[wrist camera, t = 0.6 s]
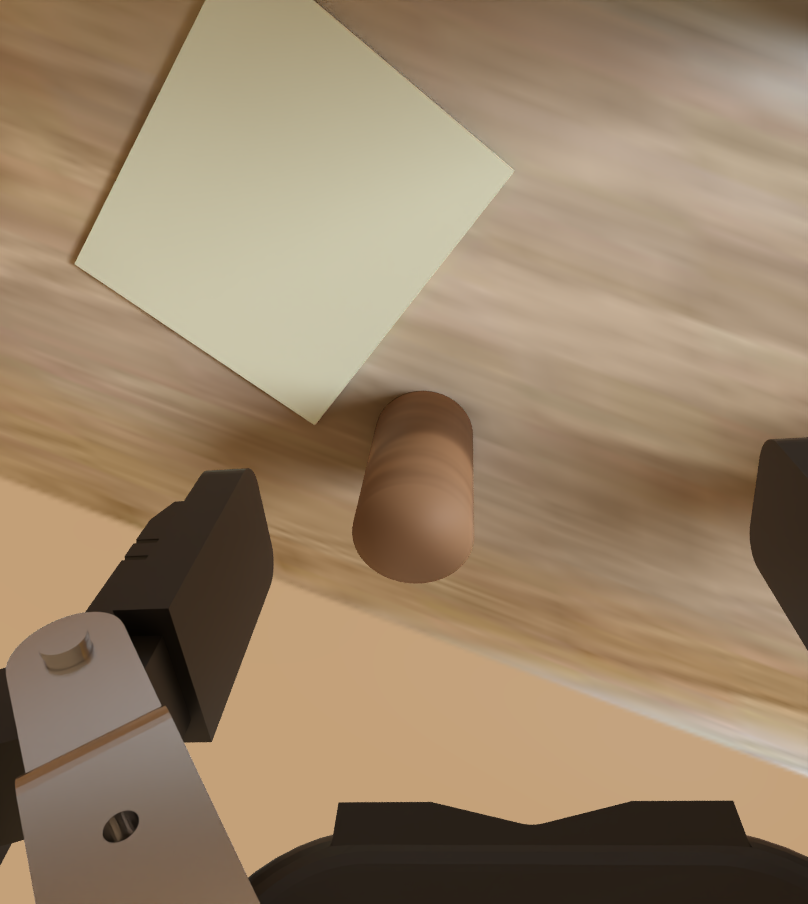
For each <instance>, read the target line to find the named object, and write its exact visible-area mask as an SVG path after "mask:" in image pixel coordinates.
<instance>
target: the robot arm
mask: <svg viewBox="0 0 808 904" xmlns="http://www.w3.org/2000/svg"><path fill="white" fill-rule="evenodd" d="M136 540H137V542H136V544H133V545H132V547H131V548H130V549H129V551H128V552H127V554H126V555H125V560H124V561H123V560H122V561H121V562H120V564H119V565H118V566H117V568H116V569H115V571H114V572H113V574H112V575H111V576H110V578H109V579H108V581H107V582H106V584H105V585H104V586H103V588H102V589H101V591H100V592H99V593H98V595H97V596H96V598H95V599H94V601H93V602H92V603H91V605H90V606H89V608H88V609H87V610H86V612H85V613H80V614H75V615H71V616H67V617H65V618H61V619H59V620H56V621H54V622H52V623H50V624H48V625H46V626H44V627H42V628H41V629H39V630H37V631H36V632H34V633H33V634H32V635H30V636H29V637H28V638H26V639H25V640H24V641H23V642H22V643H21V644H20V645H19V646H18V647H17V648H16V649H15V651H14V652H13V653H12V655H11V656H10V658H9V661H8V662H7V666H6V668H3V669H0V865H1V863H2V861H3V859H4V857H5V855H6V853H7V851H8V849H9V848H10V846H11V844H12V843H14V842H18V841H21V840H24V841H25V846H26V852H27V858H28V863H29V869H30V874H31V880H32V886H33V891H34V896H35V902H36V904H808V857H807V856H804V855H802V854H800V853H797V852H795V851H793V850H791V849H788V848H786V847H783V846H780V845H777V844H774V843H771V842H768V841H765V840H762V839H759V838H755V837H751V836H747V835H746V834H745V831H744V828H743V826H742V823H741V820H740V818H739V815H738V813H737V810H736V807H735V805H734V802H733V801H630V802H627V803H623V804H619V805H615V806H611V807H607V808H603V809H599V810H595V811H591V812H587V813H583V814H579V815H575V816H571V817H567V818H563V819H559V820H555V821H552V822H548V823H543V824H537V825H527V824H521V823H517V822H512V821H508V820H504V819H500V818H496V817H491V816H487V815H483V814H479V813H475V812H470V811H466V810H462V809H458V808H454V807H450V806H445V805H441V804H437V803H433V802H353V803H351V802H349V803H339V804H338V810H337V815H336V821H335V827H334V834H333V835H331V836H326V837H323V838H319V839H317V840H314V841H311V842H309V843H306V844H304V845H301V846H299V847H296V848H294V849H293V850H291V851H289V852H287V853H285V854H283V855H281V856H279V857H277V858H275V859H274V860H272V861H271V862H269V863H268V864H266V865H265V866H263V867H262V868H260V869H259V870H257V871H256V872H255V873H253V874H252V875H251V876H250V877H247V875H246V873H245V871H244V869H243V866H242V864H241V862H240V860H239V858H238V856H237V854H236V852H235V850H234V847H233V845H232V843H231V841H230V839H229V837H228V835H227V833H226V831H225V828H224V827H223V824H222V822H221V820H220V818H219V816H218V814H217V812H216V810H215V808H214V805H213V803H212V801H211V799H210V797H209V795H208V793H207V791H206V788H205V786H204V784H203V782H202V780H201V778H200V776H199V774H198V772H197V769H196V768H195V765H194V763H193V761H192V759H191V757H190V755H189V753H188V750H187V749H186V746H185V744H184V742H212V740H213V737H214V734H215V732H216V729H217V726H218V724H219V721H220V719H221V716H222V713H223V711H224V708H225V705H226V703H227V700H228V697H229V695H230V692H231V689H232V687H233V684H234V681H235V678H236V676H237V673H238V670H239V668H240V665H241V662H242V660H243V657H244V655H245V652H246V649H247V647H248V644H249V641H250V638H251V636H252V633H253V630H254V628H255V625H256V623H257V620H258V617H259V614H260V612H261V609H262V607H263V604H264V601H265V598H266V596H267V593H268V591H269V588H270V585H271V582H272V577H273V549H272V544H271V540H270V535H269V531H268V526H267V522H266V518H265V513H264V509H263V504H262V500H261V495H260V491H259V487H258V482H257V479H256V476H255V474H254V472H253V471H252V470H251V469H249V468H247V469H229V470H212V471H205V472H203V473H202V474H201V476H200V477H199V479H198V481H197V482H196V484H195V485H194V487H193V488H192V490H191V491H190V493H189V494H188V496H187V497H186V499H185V500H184V501H179V502H174V503H172V504H171V505H170V506H168V507H167V508H165V509H164V510H163V511H161V512H160V513H159V514H157V515H156V516H155V517H153V518H152V519H151V520H150V521H149V522H148V524H147V525H146V527H145V528H144V529H143V531H142V532H141V534H140V535H139V537H138V538H137V539H136ZM750 544H751V550H752V555H753V558H754V561H755V563H756V566H757V568H758V569H759V571H760V573H761V574H762V576H763V578H764V579H765V581H766V583H767V584H768V586H769V587H770V589H771V591H772V592H773V594H774V596H775V597H776V599H777V601H778V602H779V604H780V606H781V607H782V609H783V611H784V612H785V614H786V616H787V617H788V619H789V621H790V622H791V624H792V625H793V627H794V629H795V630H796V632H797V634H798V635H799V637H800V639H801V640H802V642H803V644H804V645H805V647H806V649H807V650H808V437H804V438H787V439H770V440H767V441H766V442H765V443H764V445H763V447H762V450H761V454H760V459H759V466H758V473H757V480H756V488H755V495H754V502H753V509H752V516H751V523H750Z"/></svg>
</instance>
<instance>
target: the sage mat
mask: <svg viewBox="0 0 808 904" xmlns="http://www.w3.org/2000/svg"><path fill="white" fill-rule="evenodd" d="M513 172H514V169H513V168H511V167H510V166H509V165H508V164H507V163H506V162H504V161H503V160H502V159H501V158H500V157H498V156H497V155H496V154H495V153H494V152H493V151H491V150H490V149H489V148H488V147H487V146H485V145H484V144H483V143H482V142H481V141H480V140H478V139H477V138H476V137H475V136H474V135H472V134H471V133H470V132H469V131H468V130H467V129H465V128H464V127H463V126H462V125H461V124H459V123H458V122H457V121H456V120H455V119H454V118H452V117H451V116H450V115H449V114H448V113H446V112H445V111H444V110H443V109H442V108H441V107H439V106H438V105H437V104H436V103H435V102H433V101H432V100H431V99H430V98H429V97H428V96H426V95H425V94H424V93H423V92H422V91H420V90H419V89H418V88H417V87H416V86H415V85H413V84H412V83H411V82H410V81H409V80H407V79H406V78H405V77H404V76H403V75H402V74H400V73H399V72H398V71H397V70H396V69H394V68H393V67H392V66H391V65H390V64H389V63H387V62H386V61H385V60H384V59H383V58H381V57H380V56H379V55H378V54H377V53H376V52H374V51H373V50H372V49H371V48H370V47H368V46H367V45H366V44H365V43H364V42H363V41H361V40H360V39H359V38H358V37H357V36H355V35H354V34H353V33H352V32H351V31H350V30H348V29H347V28H346V27H345V26H344V25H342V24H341V23H340V22H339V21H338V20H337V19H335V18H334V17H333V16H332V15H331V14H329V13H328V12H327V11H326V10H325V9H324V8H322V7H321V6H320V5H319V4H318V3H316V2H315V1H314V0H205V2H204V4H203V6H202V8H201V10H200V12H199V14H198V16H197V18H196V20H195V22H194V24H193V26H192V28H191V30H190V32H189V34H188V36H187V38H186V40H185V42H184V44H183V46H182V48H181V50H180V52H179V54H178V56H177V58H176V60H175V62H174V64H173V66H172V68H171V70H170V73H169V75H168V77H167V79H166V81H165V83H164V85H163V87H162V89H161V91H160V93H159V95H158V97H157V99H156V101H155V103H154V105H153V107H152V109H151V111H150V113H149V115H148V117H147V119H146V121H145V123H144V125H143V127H142V129H141V131H140V133H139V135H138V137H137V139H136V141H135V143H134V145H133V147H132V149H131V151H130V153H129V155H128V157H127V159H126V161H125V163H124V165H123V167H122V169H121V171H120V173H119V175H118V177H117V179H116V181H115V183H114V185H113V187H112V189H111V191H110V193H109V195H108V197H107V199H106V201H105V203H104V206H103V208H102V210H101V212H100V214H99V216H98V218H97V220H96V222H95V224H94V226H93V228H92V230H91V232H90V234H89V236H88V238H87V240H86V242H85V244H84V246H83V248H82V250H81V252H80V254H79V256H78V258H77V260H76V262H75V265H77V266H78V267H79V268H81V269H82V270H84V271H85V272H87V273H88V274H90V275H91V276H93V277H94V278H96V279H97V280H99V281H100V282H102V283H103V284H105V285H106V286H108V287H109V288H111V289H112V290H114V291H115V292H117V293H118V294H120V295H121V296H123V297H124V298H126V299H127V300H129V301H130V302H132V303H133V304H135V305H136V306H138V307H139V308H141V309H142V310H144V311H145V312H147V313H148V314H150V315H151V316H152V317H154V318H155V319H157V320H158V321H160V322H161V323H163V324H164V325H166V326H167V327H169V328H170V329H172V330H173V331H175V332H176V333H178V334H179V335H181V336H182V337H184V338H185V339H187V340H188V341H190V342H191V343H193V344H194V345H196V346H197V347H199V348H200V349H202V350H203V351H205V352H206V353H208V354H209V355H211V356H212V357H214V358H215V359H217V360H218V361H220V362H221V363H223V364H224V365H225V366H227V367H228V368H230V369H231V370H233V371H234V372H236V373H237V374H239V375H240V376H242V377H243V378H245V379H246V380H248V381H249V382H251V383H252V384H254V385H255V386H257V387H258V388H260V389H261V390H263V391H264V392H266V393H267V394H269V395H270V396H272V397H273V398H275V399H276V400H278V401H279V402H281V403H282V404H284V405H285V406H287V407H288V408H290V409H291V410H293V411H294V412H296V413H297V414H298V415H300V416H301V417H303V418H304V419H306V420H307V421H309V422H310V423H312V424H313V425H315V424H316V423H317V422H318V421H319V419H320V418H321V417H322V416H323V414H324V413H325V412H326V410H327V409H328V408H329V407H330V405H331V404H332V403H333V402H334V400H335V399H336V398H337V396H338V395H339V394H340V393H341V391H342V390H343V389H344V388H345V386H346V385H347V384H348V382H349V381H350V380H351V379H352V377H353V376H354V375H355V374H356V372H357V371H358V370H359V368H360V367H361V366H362V365H363V363H364V362H365V361H366V360H367V358H368V357H369V356H370V354H371V353H372V352H373V351H374V349H375V348H376V347H377V346H378V344H379V343H380V342H381V340H382V339H383V338H384V337H385V335H386V334H387V333H388V332H389V330H390V329H391V328H392V326H393V325H394V324H395V323H396V321H397V320H398V319H399V318H400V316H401V315H402V314H403V312H404V311H405V310H406V309H407V307H408V306H409V305H410V304H411V302H412V301H413V300H414V298H415V297H416V296H417V295H418V293H419V292H420V291H421V290H422V288H423V287H424V286H425V284H426V283H427V282H428V281H429V279H430V278H431V277H432V275H433V274H434V273H435V272H436V270H437V269H438V268H439V267H440V265H441V264H442V263H443V261H444V260H445V259H446V258H447V256H448V255H449V254H450V253H451V251H452V250H453V249H454V247H455V246H456V245H457V244H458V242H459V241H460V240H461V239H462V237H463V236H464V235H465V233H466V232H467V231H468V230H469V228H470V227H471V226H472V225H473V223H474V222H475V221H476V219H477V218H478V217H479V216H480V214H481V213H482V212H483V211H484V209H485V208H486V207H487V205H488V204H489V203H490V202H491V200H492V199H493V198H494V197H495V195H496V194H497V193H498V191H499V190H500V189H501V188H502V186H503V185H504V184H505V183H506V181H507V180H508V179H509V177H510V176H511V175H512V174H513Z"/></svg>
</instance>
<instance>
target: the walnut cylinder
mask: <svg viewBox="0 0 808 904" xmlns="http://www.w3.org/2000/svg"><path fill="white" fill-rule="evenodd" d="M352 536H353V541H354V545H355V548H356V550H357V552H358V554H359V555H360V557H361V558H362V559H363V560H364V562H365V563H366V564H367V565H368V566H369V567H371V568H372V569H373V570H375V571H376V572H377V573H379V574H381V575H383V576H385V577H387V578H390V579H392V580H396V581H399V582H405V583H428V582H433V581H437V580H440V579H442V578H445V577H447V576H449V575H450V574H452V573H454V572H455V571H456V570H458V569H459V568H460V567H461V566H462V565H463V564H464V563H465V561H466V560H467V558H468V557H469V555H470V553H471V550H472V547H473V542H474V500H473V430H472V425H471V422H470V419H469V417H468V415H467V414H466V412H465V411H464V410H463V408H462V407H461V406H460V405H459V404H457V403H456V402H455V401H454V400H452V399H450V398H449V397H447V396H445V395H442V394H439V393H435V392H430V391H416V392H411V393H407V394H404V395H402V396H399V397H398V398H396V399H394V400H393V401H392V402H390V403H389V404H388V405H387V406H386V407H385V408H384V410H383V411H382V413H381V414H380V416H379V419H378V422H377V425H376V429H375V433H374V438H373V442H372V446H371V450H370V454H369V459H368V463H367V467H366V471H365V475H364V480H363V484H362V488H361V492H360V496H359V501H358V505H357V509H356V513H355V517H354V522H353V527H352Z"/></svg>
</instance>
